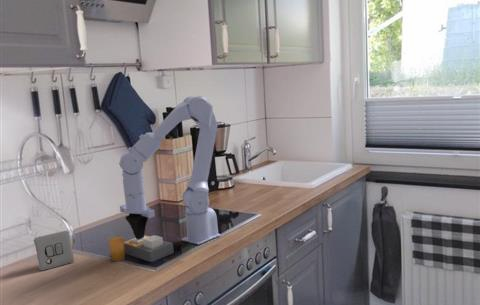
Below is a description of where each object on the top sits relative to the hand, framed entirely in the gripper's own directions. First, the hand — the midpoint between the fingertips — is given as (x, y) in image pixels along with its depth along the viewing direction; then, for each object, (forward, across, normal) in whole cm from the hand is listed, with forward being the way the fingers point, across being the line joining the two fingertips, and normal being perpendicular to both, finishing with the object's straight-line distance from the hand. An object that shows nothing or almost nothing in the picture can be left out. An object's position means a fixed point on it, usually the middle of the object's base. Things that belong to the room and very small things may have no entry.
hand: (140, 237), depth 135 cm
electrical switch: (+4, -14, -20) cm, 25 cm away
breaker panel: (+4, +3, 0) cm, 5 cm away
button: (+2, +6, 0) cm, 7 cm away
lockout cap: (+4, -1, -8) cm, 9 cm away
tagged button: (+3, 0, 0) cm, 3 cm away
